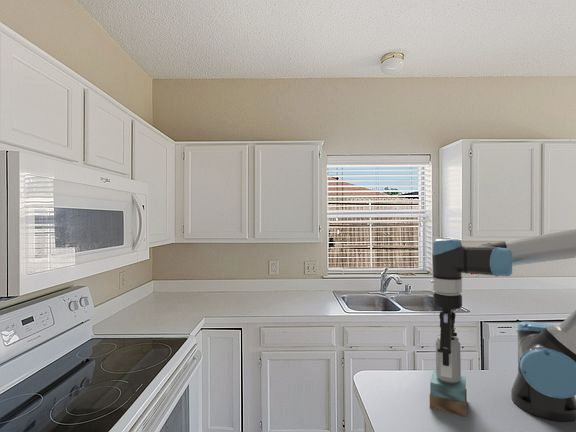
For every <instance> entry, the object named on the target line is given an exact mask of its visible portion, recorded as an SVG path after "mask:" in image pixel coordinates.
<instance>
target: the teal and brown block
mask: <svg viewBox="0 0 576 432" xmlns="http://www.w3.org/2000/svg"><path fill="white" fill-rule="evenodd" d="M466 381H467V378H466V376H464V375H461V380H460V381H459V382H458V383H455V384H450V383H445V382H443V381H441V380H440V379H439V378H438V377H437V376H436V369H434V370H433V372H432V376H431V379H430V382H429V383H430V384H429V389H430V393H429V408H430V409H434V410H438V411H442V412H446V413H450V414H455V415H457V416H458V415H459V416H462V417H465V418H466V417H467V404H468V403H467V399H468V397H467V395H468V393H467V387H466V386H467V384H466V383H467V382H466Z"/></svg>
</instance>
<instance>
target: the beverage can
mask: <svg viewBox="0 0 576 432" xmlns="http://www.w3.org/2000/svg"><path fill="white" fill-rule="evenodd" d="M443 348H445V347H443ZM438 349H440V335H439V334H438V335H437V336H436V339H435V371H436V376H437V377H438V378H439V379H440V380H441V381H443V382H445V383H450V384H455V383H458V382H459V381H460V380H461V376H462V375H461V373H462V368H461V366H462V365H461V363H462V362H461V343H460V339H459V338H458V336H457V337H456V336H451V353H452V378H448V377H444V376H441V360H440V352H438ZM446 349H448V348H446Z"/></svg>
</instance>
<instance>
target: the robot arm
mask: <svg viewBox="0 0 576 432" xmlns="http://www.w3.org/2000/svg"><path fill="white" fill-rule="evenodd" d="M431 255H432V256H431V257H432V279H431V280H430V284H433V285H432V289H433V291H434V292H433V293H432V304H433V305H434V306H435V307H437V308H440V309H442V310H440V312H439V315H438V316H439V327H440V349H438V352H440V360H441V376H444V377H448V378H452V353H451V336H454V337H457V338H458V332H456V328H455V323H456V312H454V310H459V309H461V308H462V307H463V295H462V294H461V293H463V276H462V274H471V275H484V276H493V277H494V276H495V277H510V276H511V275H512V274H513V267H514V266H522V265H523V266H524V265H530V264H538V263H545V262H552V261H558V260H570V259H574V258H576V228H573V229H568V230H563V231H562V230H561V231H555V232H551V233H544V234H539V235H538V234H537V235H533V236H527V237H522V238H515V239H510V240H505V241H498V242H492V243H491V242H488V243H484V244H481V245H479V246H466V245H465V246H463V244H462V241H461V240H460V239H458V238H457V239H456V238H438V239H434V241H433V242H432V254H431ZM516 332H517V368H518V369H517V375H516V376H515V380H514V382H513V384H512V387H511V390H510V392H511V394H510V397H511V400H512V402H513V404H515V405H516V406H517V407H518V408H520V409H522V410H523V411H525V412H527V413H530V414H531V415H535V416H536V417H540V418H542V419H546V420H551V421H558V422H572V421H576V309H575V310H574V311H573V312H571V313H570V314H569V316H567V318H565V319H564V320H563V321H562V322H561V323H560V324H559V325H556V324H551V323H546V322H545V323H544V322H538V321H537V322H536V321H521V322H518V324H517V329H516ZM443 347H445V348H443ZM446 348H448V349H446Z"/></svg>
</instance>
